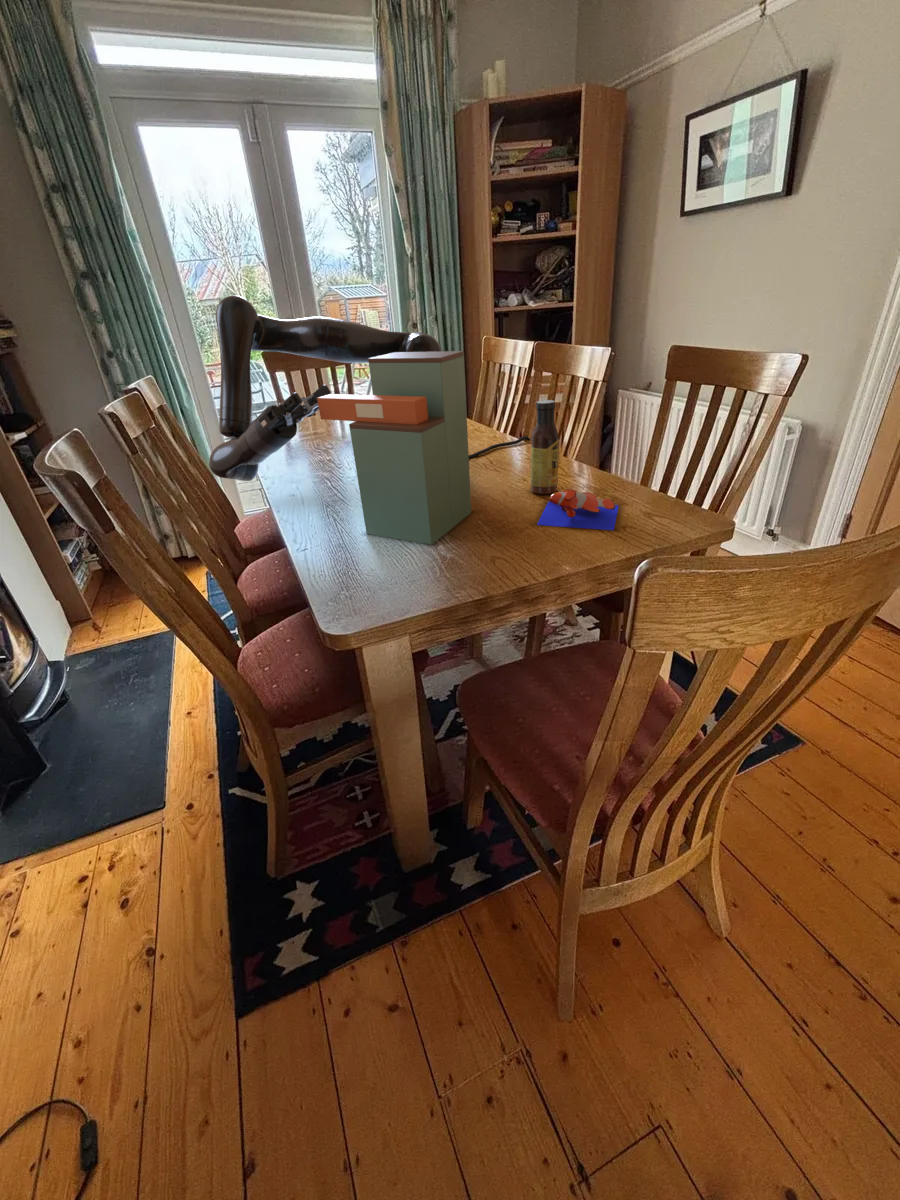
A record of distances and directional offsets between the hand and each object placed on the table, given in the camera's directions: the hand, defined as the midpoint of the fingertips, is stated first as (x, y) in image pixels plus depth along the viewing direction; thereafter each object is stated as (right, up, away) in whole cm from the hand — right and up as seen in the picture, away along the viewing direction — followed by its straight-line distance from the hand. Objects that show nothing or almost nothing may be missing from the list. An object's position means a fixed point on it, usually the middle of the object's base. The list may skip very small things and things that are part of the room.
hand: (313, 392), depth 103 cm
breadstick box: (+12, -6, -4) cm, 14 cm away
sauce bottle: (+49, -15, +21) cm, 55 cm away
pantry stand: (+20, -24, +9) cm, 33 cm away
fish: (+53, -23, +7) cm, 58 cm away
